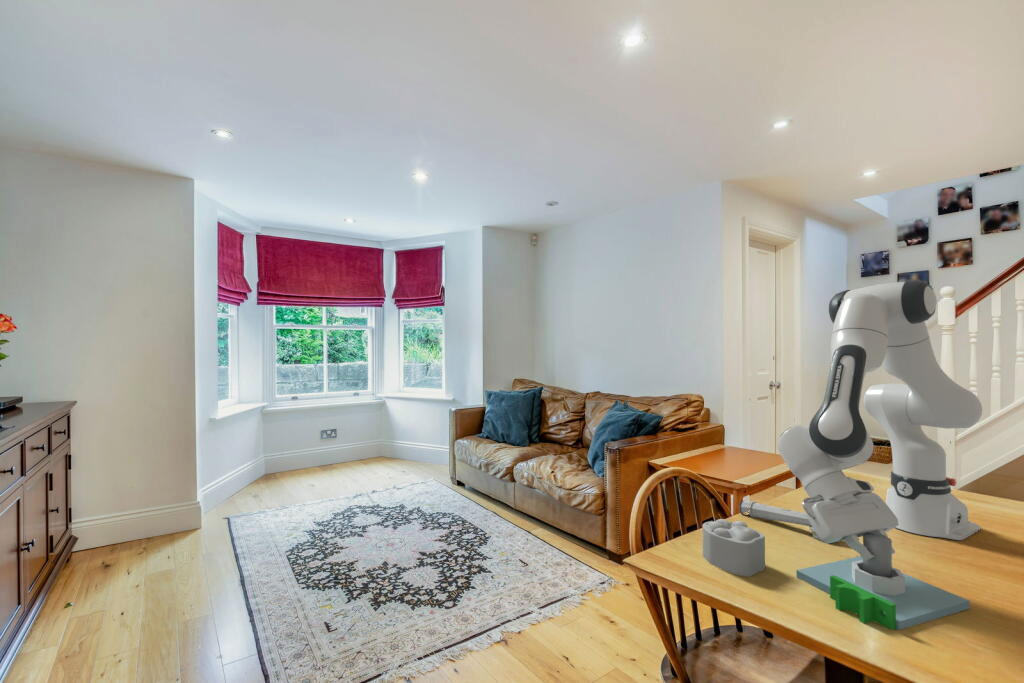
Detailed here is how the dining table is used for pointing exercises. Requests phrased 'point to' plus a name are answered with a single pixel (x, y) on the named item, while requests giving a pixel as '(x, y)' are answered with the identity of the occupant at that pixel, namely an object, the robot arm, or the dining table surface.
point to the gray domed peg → (878, 555)
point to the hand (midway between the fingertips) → (880, 556)
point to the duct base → (905, 603)
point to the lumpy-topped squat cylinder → (734, 547)
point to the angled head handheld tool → (776, 514)
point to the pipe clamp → (862, 603)
